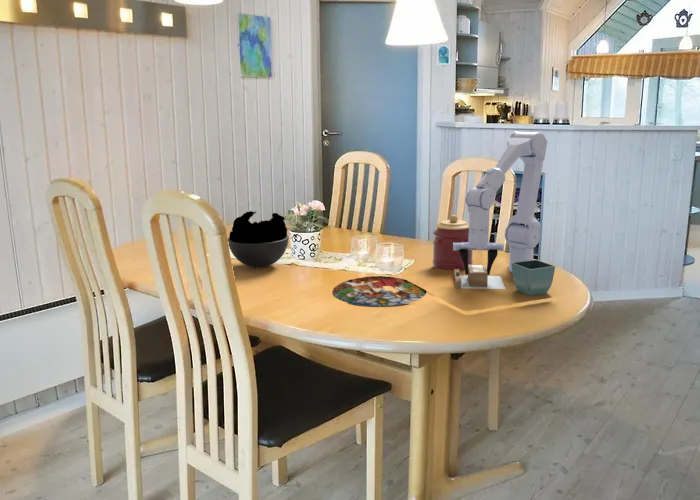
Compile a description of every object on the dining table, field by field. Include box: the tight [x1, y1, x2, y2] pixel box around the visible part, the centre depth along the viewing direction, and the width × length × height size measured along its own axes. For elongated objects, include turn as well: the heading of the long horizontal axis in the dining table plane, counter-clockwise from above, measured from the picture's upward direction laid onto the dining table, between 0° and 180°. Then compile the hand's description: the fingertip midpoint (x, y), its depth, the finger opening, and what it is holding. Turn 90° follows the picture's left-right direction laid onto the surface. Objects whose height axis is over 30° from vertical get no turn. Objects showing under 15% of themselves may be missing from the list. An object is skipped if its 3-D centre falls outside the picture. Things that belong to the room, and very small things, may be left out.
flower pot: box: [511, 259, 556, 296], centre depth 183 cm, size 9×9×9 cm
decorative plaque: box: [331, 275, 428, 307], centre depth 190 cm, size 30×3×30 cm
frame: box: [467, 264, 489, 287], centre depth 193 cm, size 10×5×4 cm, turn 173°
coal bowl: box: [227, 210, 290, 268], centre depth 217 cm, size 20×20×19 cm
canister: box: [432, 214, 474, 271], centre depth 212 cm, size 13×13×18 cm
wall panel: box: [453, 269, 506, 290], centre depth 194 cm, size 14×14×4 cm
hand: (477, 274), depth 193 cm, fingers open, 6 cm apart
